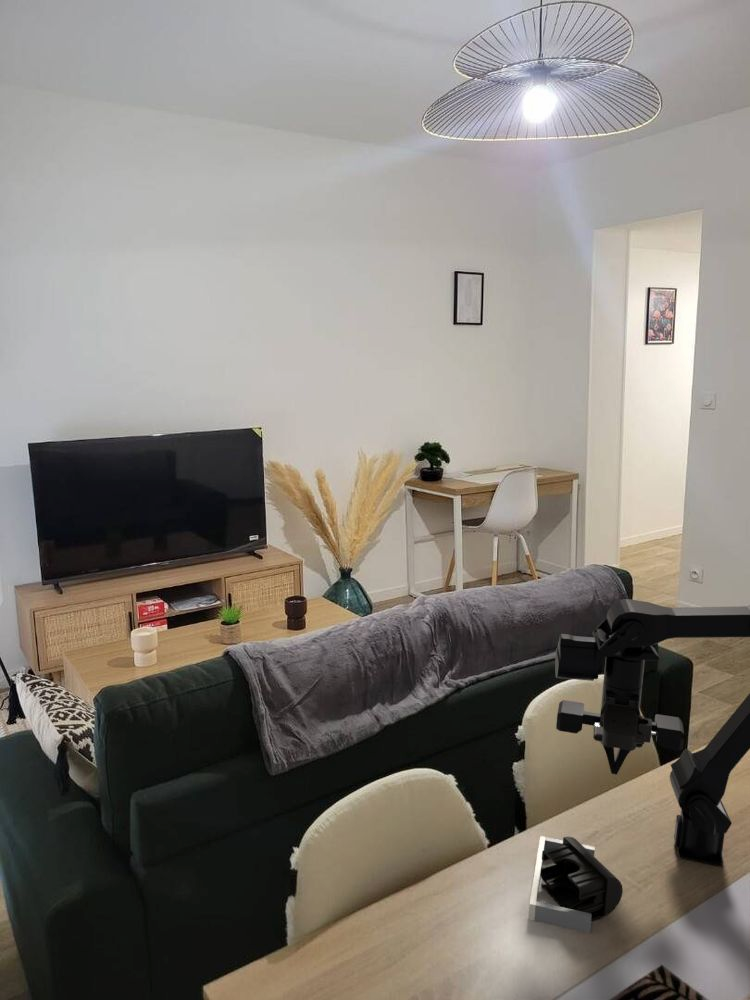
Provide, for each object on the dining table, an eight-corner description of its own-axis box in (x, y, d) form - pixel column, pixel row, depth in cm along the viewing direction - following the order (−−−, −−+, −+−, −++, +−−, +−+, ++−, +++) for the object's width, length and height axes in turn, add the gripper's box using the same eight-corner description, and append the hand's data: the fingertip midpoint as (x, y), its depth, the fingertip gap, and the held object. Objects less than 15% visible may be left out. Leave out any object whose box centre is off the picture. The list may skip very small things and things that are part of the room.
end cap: (621, 915, 109) (625, 873, 108) (580, 929, 107) (584, 887, 105) (576, 870, 118) (580, 831, 117) (537, 882, 116) (540, 842, 114)
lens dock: (593, 861, 120) (594, 847, 120) (590, 933, 106) (591, 917, 105) (539, 849, 123) (540, 835, 122) (528, 919, 108) (529, 903, 108)
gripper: (557, 695, 115) (550, 789, 118) (692, 715, 109) (680, 813, 113) (562, 665, 125) (555, 753, 129) (685, 682, 120) (675, 773, 123)
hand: (614, 773), depth 123 cm, fingers closed
